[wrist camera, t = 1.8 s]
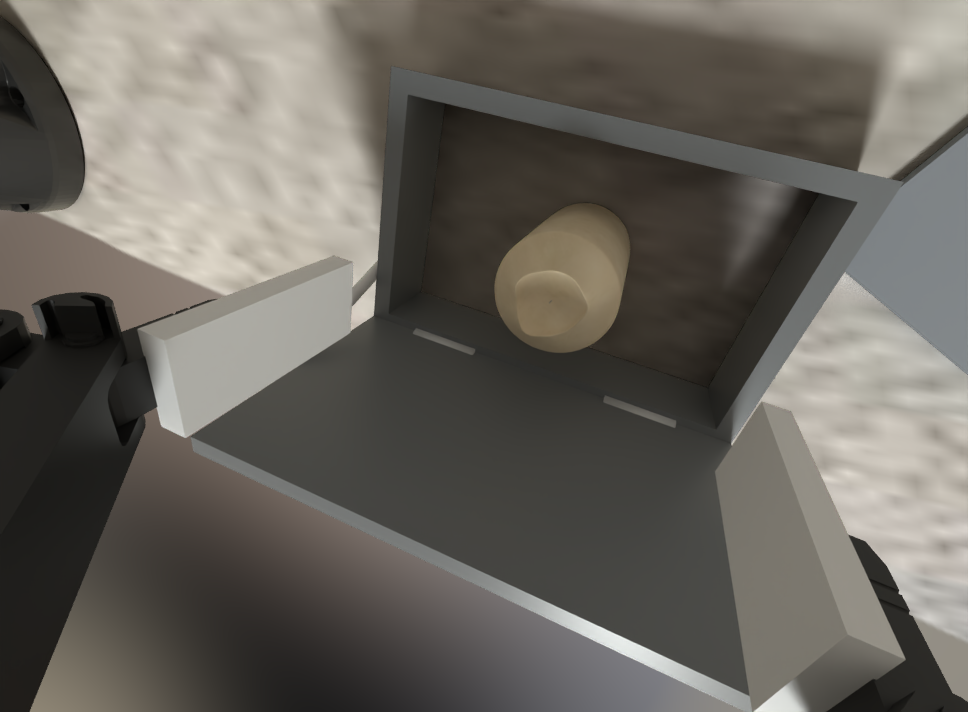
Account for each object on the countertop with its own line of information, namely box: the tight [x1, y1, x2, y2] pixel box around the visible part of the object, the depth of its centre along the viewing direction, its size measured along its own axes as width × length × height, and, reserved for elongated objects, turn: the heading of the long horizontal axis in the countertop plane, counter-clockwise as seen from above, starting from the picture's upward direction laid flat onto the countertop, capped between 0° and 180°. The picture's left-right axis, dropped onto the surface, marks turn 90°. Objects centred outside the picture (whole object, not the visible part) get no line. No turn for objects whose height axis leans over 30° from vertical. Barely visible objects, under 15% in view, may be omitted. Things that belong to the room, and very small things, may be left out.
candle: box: [494, 203, 630, 353], centre depth 22 cm, size 6×6×10 cm
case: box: [191, 66, 904, 712], centre depth 19 cm, size 23×14×18 cm, turn 78°
